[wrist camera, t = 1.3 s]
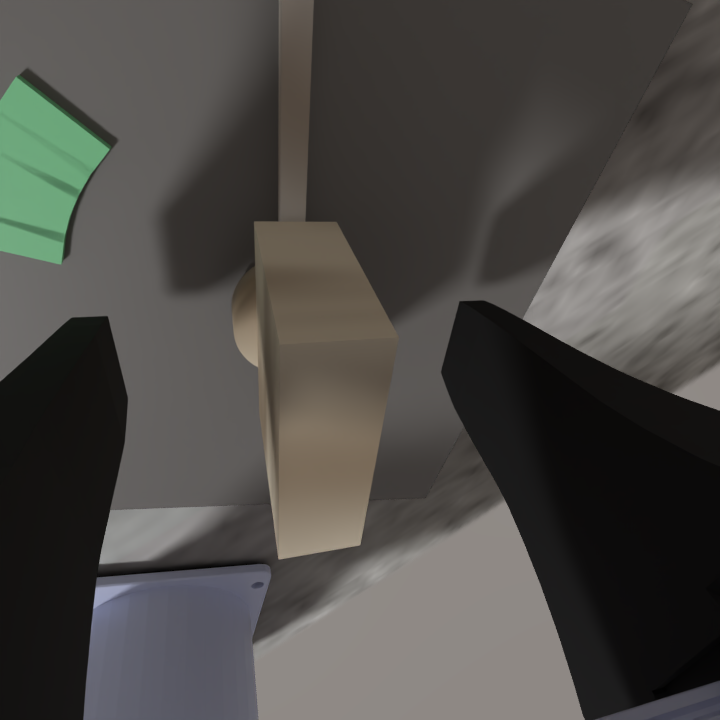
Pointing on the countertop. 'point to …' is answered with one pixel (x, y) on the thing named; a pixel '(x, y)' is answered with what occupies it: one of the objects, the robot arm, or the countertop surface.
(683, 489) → the robot arm
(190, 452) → the dial board
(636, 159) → the countertop surface
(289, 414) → the peg
